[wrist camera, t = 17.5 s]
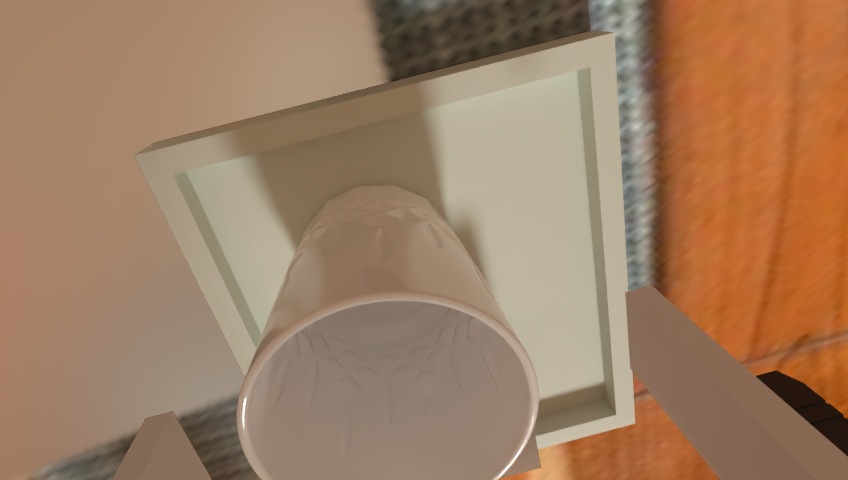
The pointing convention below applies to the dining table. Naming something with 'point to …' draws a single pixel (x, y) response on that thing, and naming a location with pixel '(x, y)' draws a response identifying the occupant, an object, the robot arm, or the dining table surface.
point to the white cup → (385, 355)
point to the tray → (438, 205)
